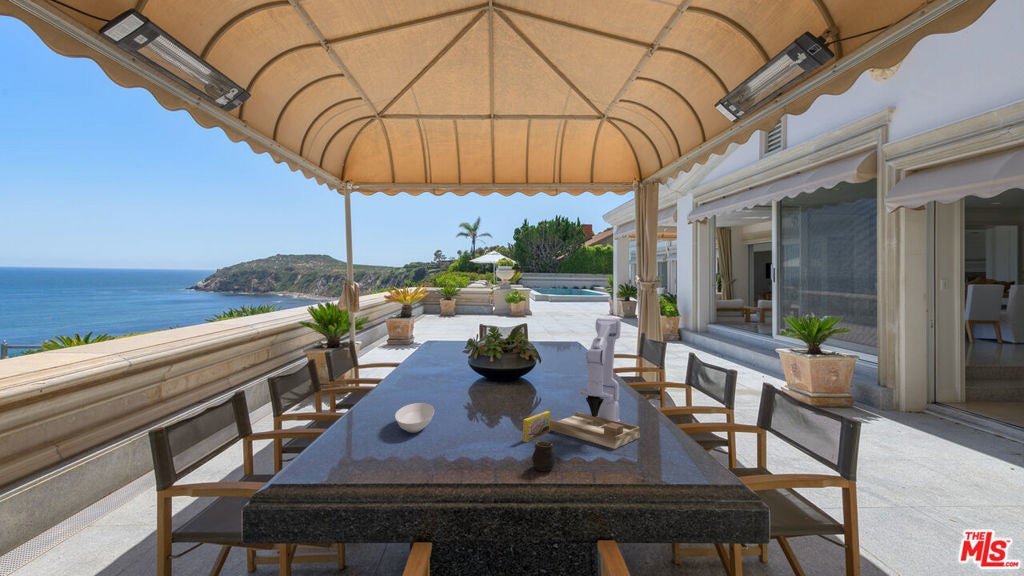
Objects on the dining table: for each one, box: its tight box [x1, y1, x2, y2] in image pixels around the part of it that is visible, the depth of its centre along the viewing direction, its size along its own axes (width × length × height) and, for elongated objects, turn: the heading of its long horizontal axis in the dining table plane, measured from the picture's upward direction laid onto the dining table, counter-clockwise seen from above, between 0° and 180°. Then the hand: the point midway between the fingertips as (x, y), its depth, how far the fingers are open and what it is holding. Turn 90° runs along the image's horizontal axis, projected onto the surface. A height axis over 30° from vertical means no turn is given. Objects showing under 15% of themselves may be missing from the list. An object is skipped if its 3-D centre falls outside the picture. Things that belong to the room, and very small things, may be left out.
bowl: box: [394, 402, 436, 434], centre depth 185 cm, size 30×15×6 cm, turn 4°
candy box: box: [521, 410, 551, 443], centre depth 176 cm, size 16×2×8 cm, turn 143°
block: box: [604, 423, 623, 437], centre depth 170 cm, size 5×5×4 cm
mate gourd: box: [531, 440, 556, 472], centre depth 145 cm, size 7×8×10 cm
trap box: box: [550, 411, 641, 450], centre depth 181 cm, size 18×30×4 cm, turn 46°
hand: (594, 416), depth 176 cm, fingers closed
